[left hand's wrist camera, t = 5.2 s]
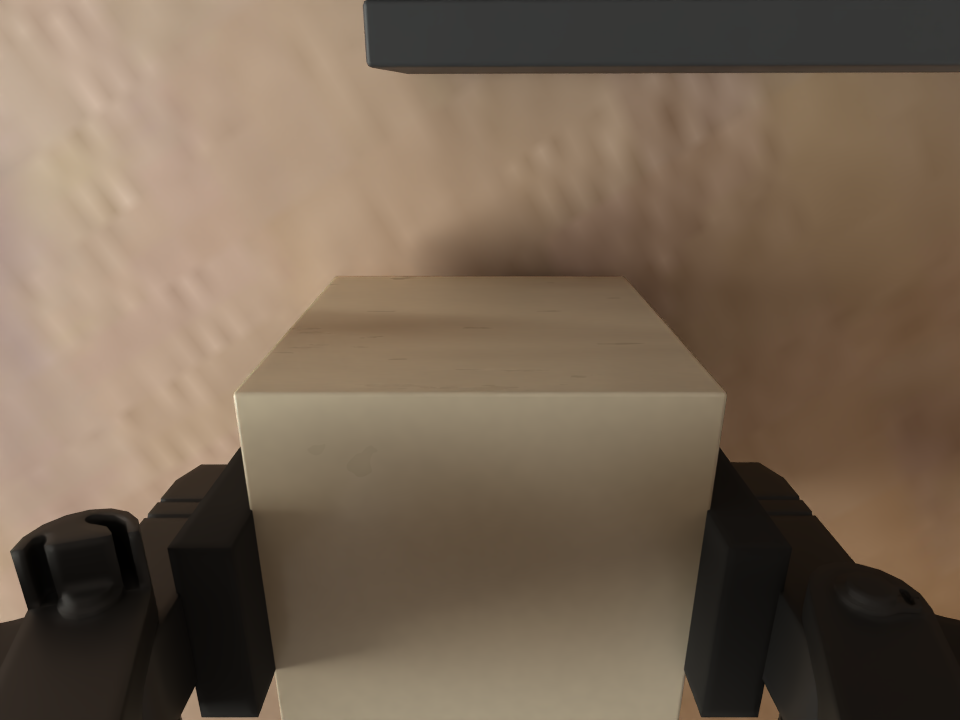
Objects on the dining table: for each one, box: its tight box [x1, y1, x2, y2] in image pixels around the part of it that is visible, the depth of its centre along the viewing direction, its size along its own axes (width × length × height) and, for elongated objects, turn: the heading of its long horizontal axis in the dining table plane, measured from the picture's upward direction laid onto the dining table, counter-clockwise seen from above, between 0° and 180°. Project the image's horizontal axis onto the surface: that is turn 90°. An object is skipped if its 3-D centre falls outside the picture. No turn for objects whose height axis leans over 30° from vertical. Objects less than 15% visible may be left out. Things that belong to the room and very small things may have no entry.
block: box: [233, 276, 727, 720], centre depth 12 cm, size 6×6×6 cm
